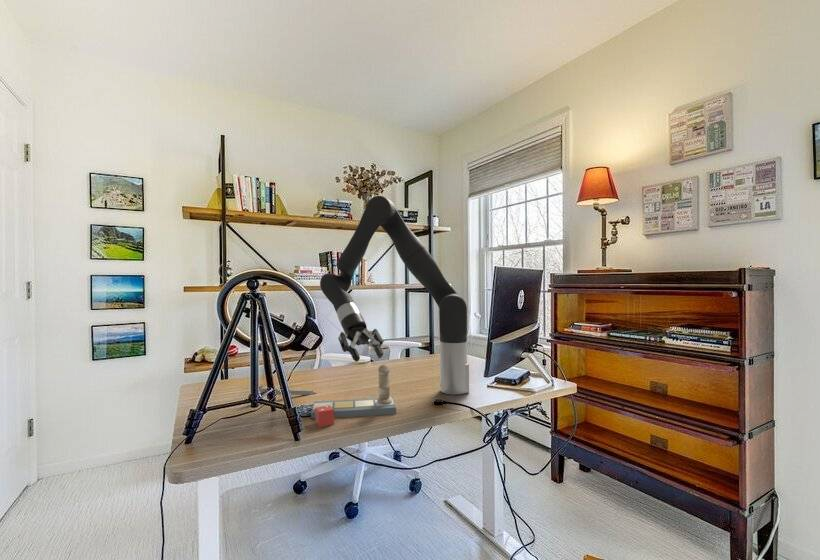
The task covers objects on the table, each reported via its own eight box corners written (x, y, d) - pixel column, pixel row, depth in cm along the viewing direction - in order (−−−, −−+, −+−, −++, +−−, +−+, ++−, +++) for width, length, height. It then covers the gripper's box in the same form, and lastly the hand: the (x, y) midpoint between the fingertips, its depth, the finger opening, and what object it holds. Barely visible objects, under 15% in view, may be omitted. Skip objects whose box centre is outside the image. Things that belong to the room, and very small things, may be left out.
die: (329, 419, 112) (329, 404, 112) (334, 424, 108) (333, 409, 108) (315, 422, 110) (315, 407, 110) (319, 427, 106) (319, 411, 106)
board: (392, 403, 126) (392, 396, 126) (396, 413, 116) (396, 406, 116) (314, 407, 122) (314, 400, 122) (311, 419, 112) (310, 411, 112)
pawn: (390, 399, 123) (390, 362, 123) (392, 404, 118) (391, 365, 118) (376, 400, 122) (376, 363, 122) (377, 404, 118) (376, 366, 118)
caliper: (254, 405, 126) (254, 385, 125) (253, 404, 126) (253, 385, 126) (316, 394, 137) (316, 375, 137) (315, 393, 138) (315, 375, 138)
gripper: (335, 313, 129) (354, 354, 120) (373, 310, 138) (393, 348, 129) (328, 328, 133) (345, 368, 124) (365, 324, 142) (383, 362, 133)
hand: (369, 358), depth 126 cm, fingers open, 8 cm apart
